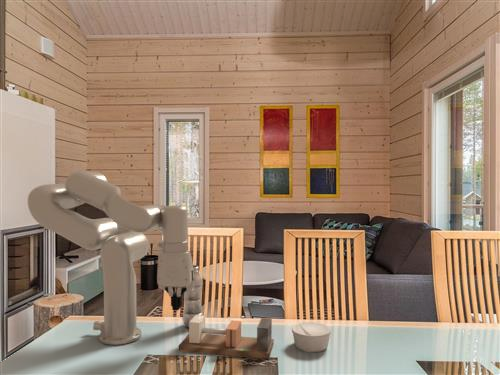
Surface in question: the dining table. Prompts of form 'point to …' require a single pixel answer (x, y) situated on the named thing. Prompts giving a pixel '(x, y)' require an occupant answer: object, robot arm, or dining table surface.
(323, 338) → the ramekin
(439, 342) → the dining table surface
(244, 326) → the dining table surface
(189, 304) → the plastic bottle
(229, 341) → the block
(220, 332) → the plunger
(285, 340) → the dining table surface
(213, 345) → the base
